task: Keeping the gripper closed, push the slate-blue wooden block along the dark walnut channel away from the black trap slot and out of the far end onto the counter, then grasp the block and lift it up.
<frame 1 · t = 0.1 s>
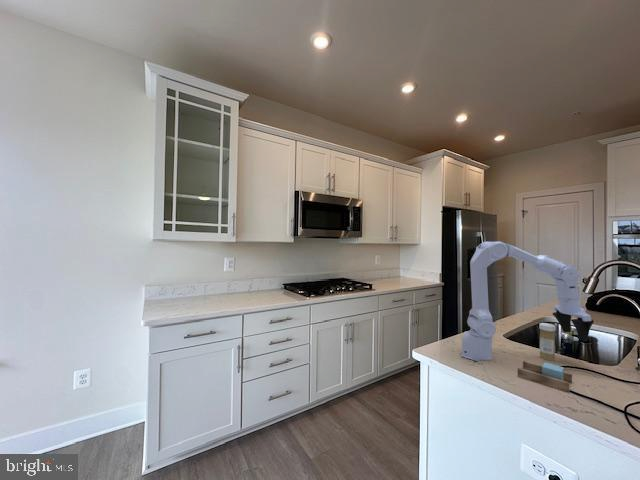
hand: (575, 335, 96), 11 cm above the worktop, tool pointing down, fingers open, 7 cm apart
blue block: (552, 381, 82), point 1 cm above the worktop, touching walnut channel
sprinkles bottle: (546, 361, 99), on the worktop
walnut channel: (544, 382, 84), on the worktop
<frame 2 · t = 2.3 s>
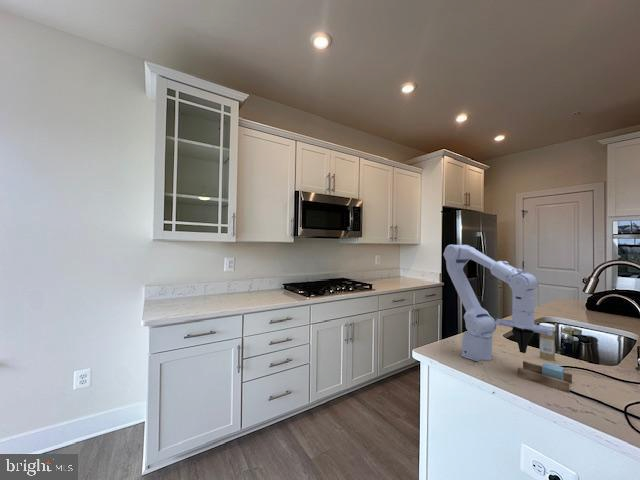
hand: (522, 351, 88), 8 cm above the worktop, tool pointing down, fingers closed
nothing on the worktop moved.
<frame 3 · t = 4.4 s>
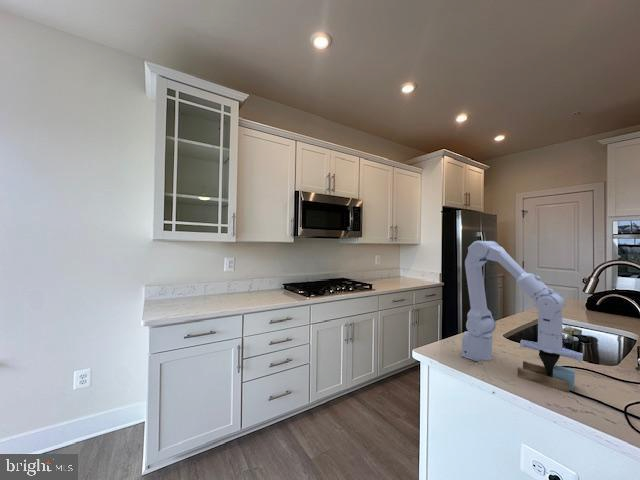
hand: (549, 376, 83), 2 cm above the worktop, tool pointing down, fingers closed, pressing on blue block
blue block: (563, 384, 81), point 1 cm above the worktop, touching gripper, walnut channel
everything else where it was.
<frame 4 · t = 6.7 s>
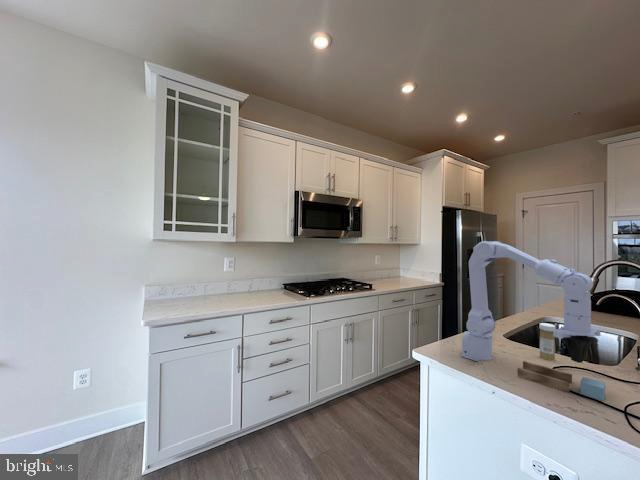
hand: (576, 361, 78), 9 cm above the worktop, tool pointing down, fingers closed
blue block: (581, 386, 77), point 2 cm above the worktop, tilted 90°
everything else where it was.
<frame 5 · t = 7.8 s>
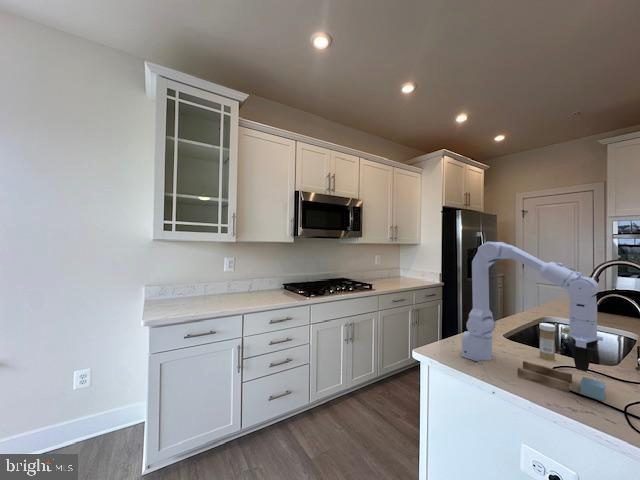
hand: (582, 366, 78), 8 cm above the worktop, tool pointing down, fingers open, 7 cm apart
nothing on the worktop moved.
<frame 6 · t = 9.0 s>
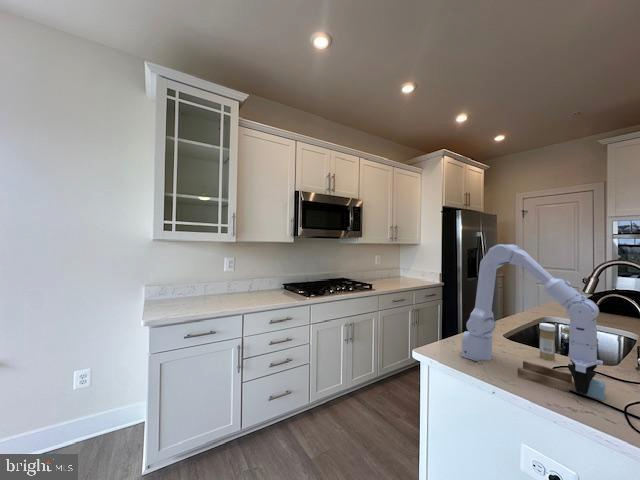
hand: (582, 389, 78), 1 cm above the worktop, tool pointing down, fingers closed on blue block, 4 cm apart
blue block: (581, 386, 78), point 2 cm above the worktop, tilted 90°, touching gripper
everything else where it was.
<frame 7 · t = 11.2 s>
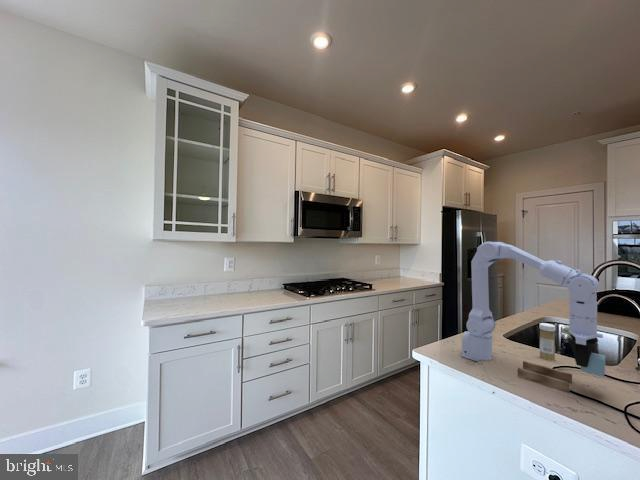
hand: (582, 363, 78), 9 cm above the worktop, tool pointing down, fingers closed on blue block, 4 cm apart
blue block: (581, 360, 78), point 10 cm above the worktop, tilted 90°, touching gripper
everything else where it was.
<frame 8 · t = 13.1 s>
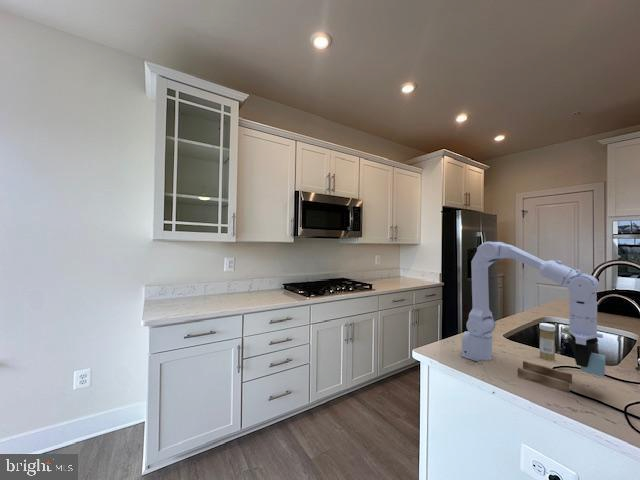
hand: (582, 363, 78), 9 cm above the worktop, tool pointing down, fingers closed on blue block, 4 cm apart
blue block: (581, 360, 78), point 10 cm above the worktop, tilted 90°, touching gripper
everything else where it was.
at the end: the gripper is holding blue block; blue block point 9.7 cm above the worktop; blue block inside the target area (0.1 cm from its centre), point 9.7 cm above the worktop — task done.
